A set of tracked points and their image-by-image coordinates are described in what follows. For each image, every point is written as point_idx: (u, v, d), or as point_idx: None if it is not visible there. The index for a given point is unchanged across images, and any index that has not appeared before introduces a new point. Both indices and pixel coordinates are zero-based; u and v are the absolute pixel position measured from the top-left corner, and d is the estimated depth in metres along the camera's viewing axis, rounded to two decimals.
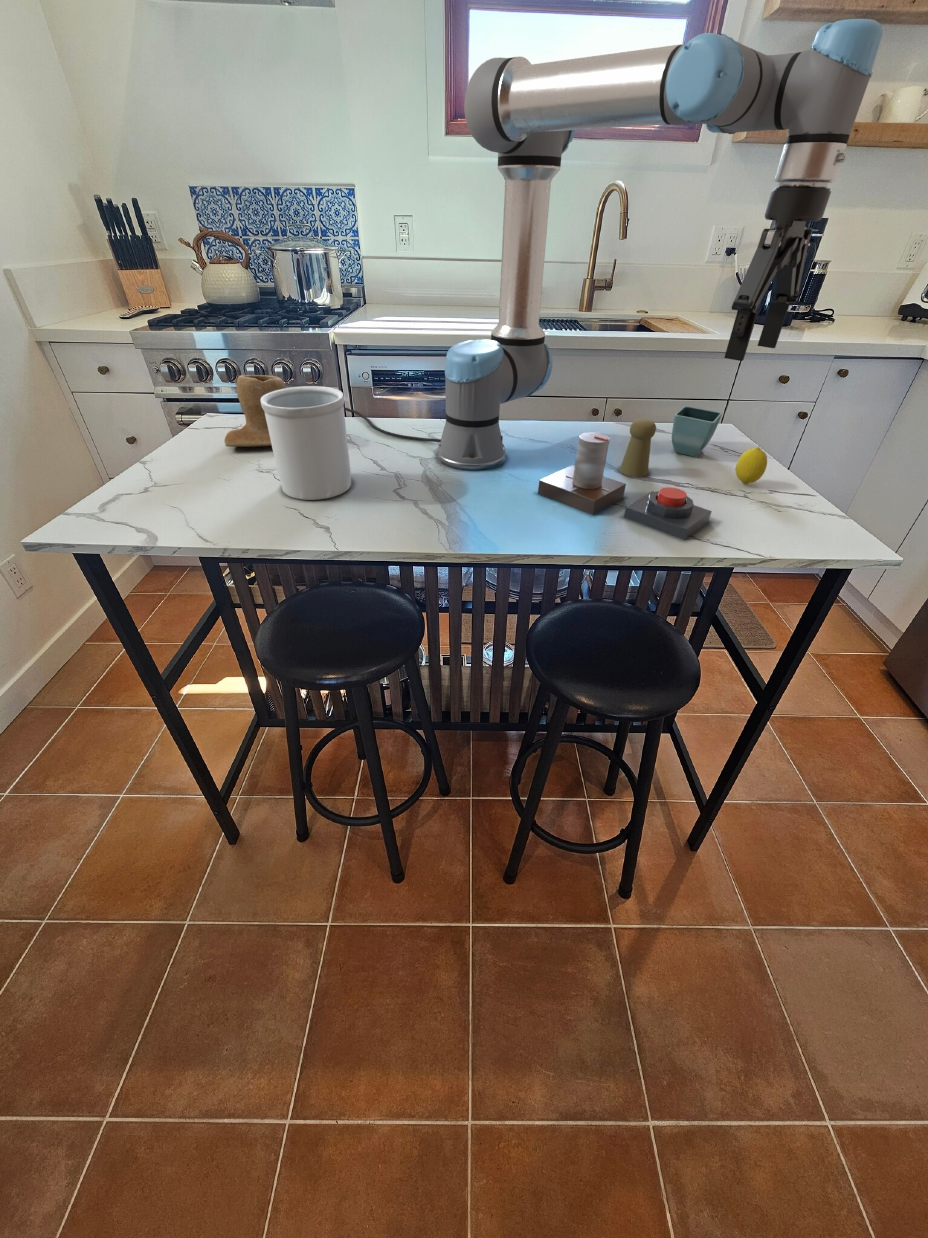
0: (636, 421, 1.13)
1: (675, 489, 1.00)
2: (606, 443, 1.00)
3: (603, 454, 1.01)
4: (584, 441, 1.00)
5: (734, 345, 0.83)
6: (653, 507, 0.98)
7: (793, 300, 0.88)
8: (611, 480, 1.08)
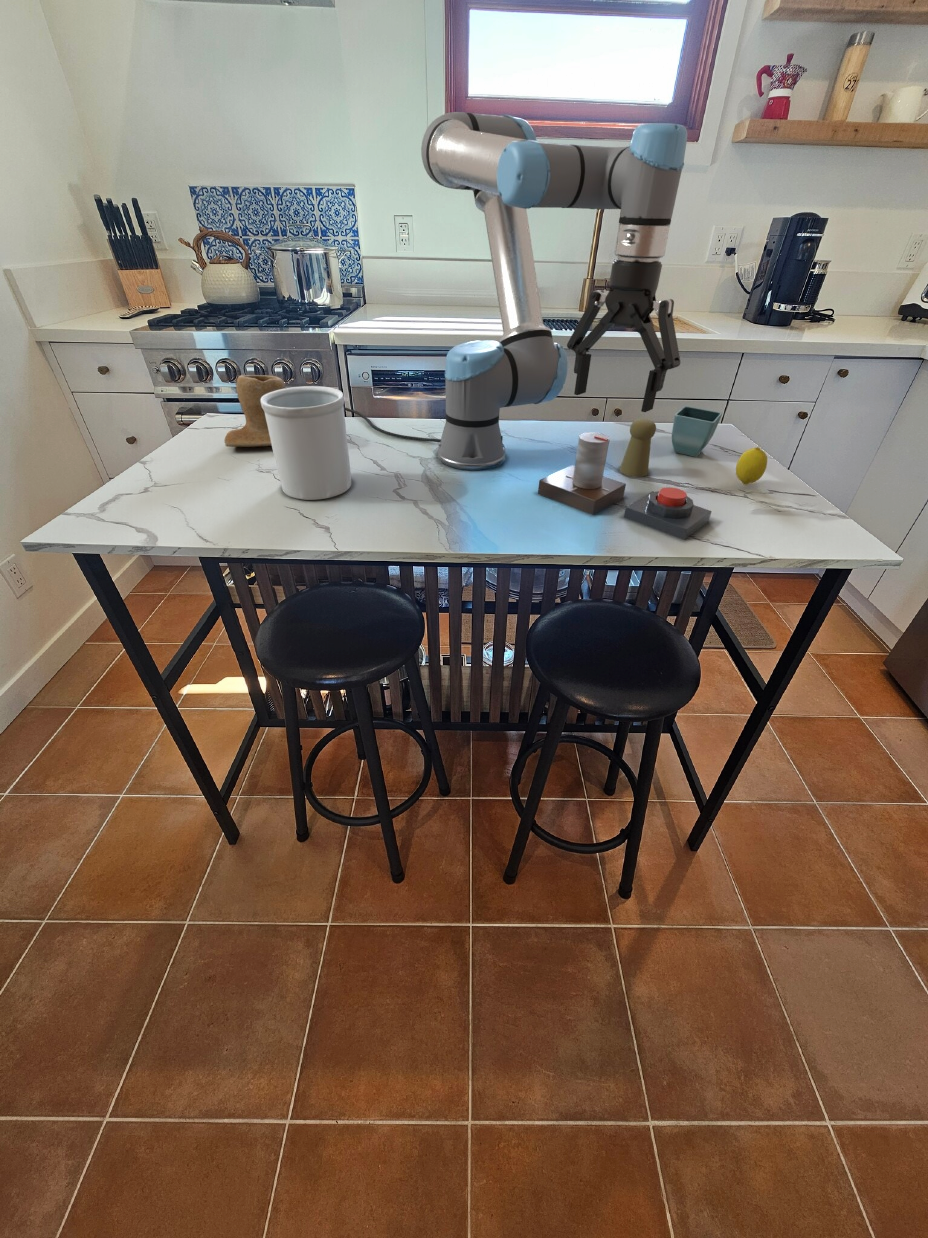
0: (636, 421, 1.13)
1: (675, 489, 1.00)
2: (606, 443, 1.00)
3: (603, 454, 1.01)
4: (584, 441, 1.00)
5: None
6: (653, 507, 0.98)
7: (655, 369, 0.88)
8: (611, 480, 1.08)
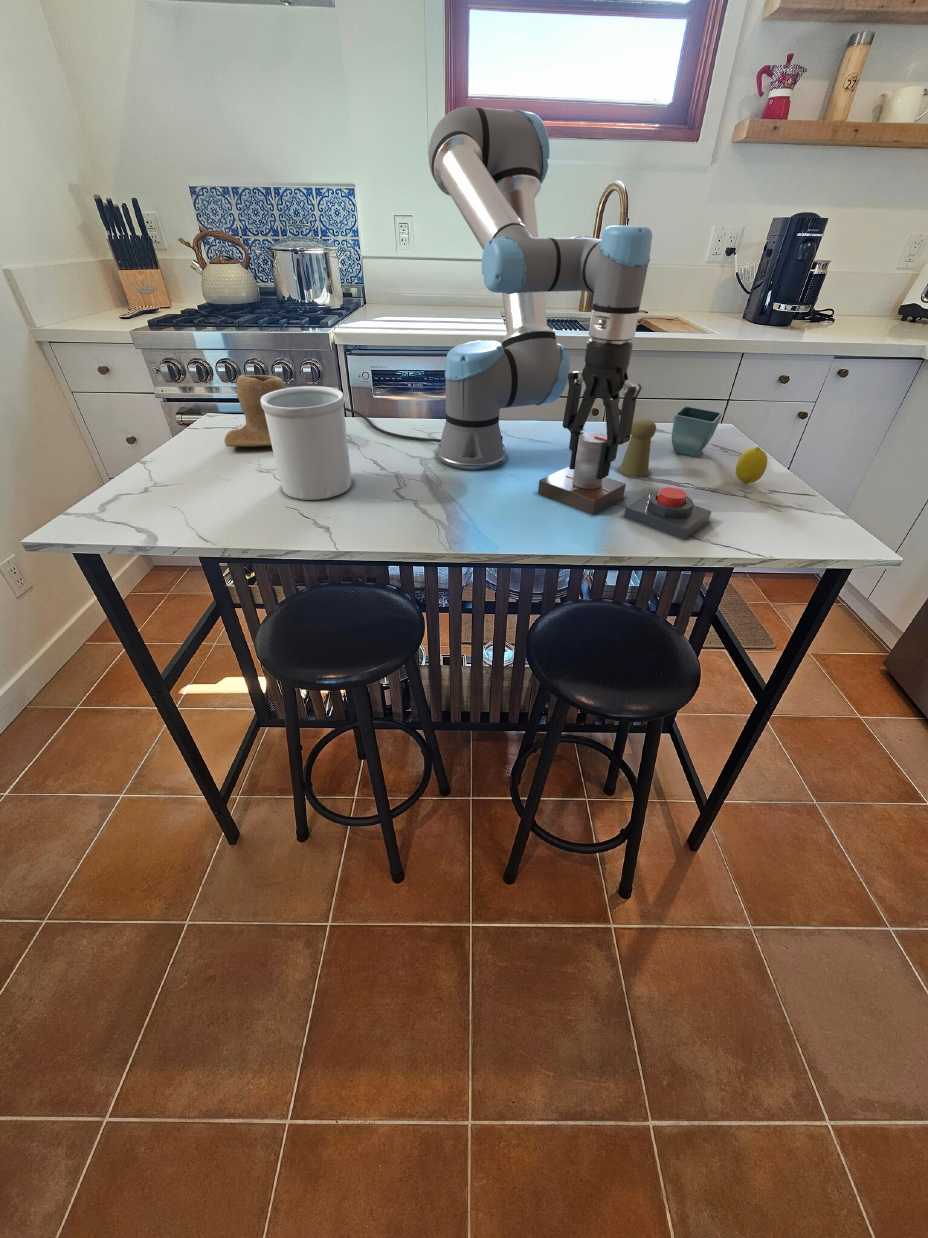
0: (636, 421, 1.13)
1: (675, 489, 1.00)
2: None
3: None
4: (584, 441, 1.00)
5: None
6: (653, 507, 0.98)
7: (607, 442, 0.98)
8: (611, 480, 1.08)
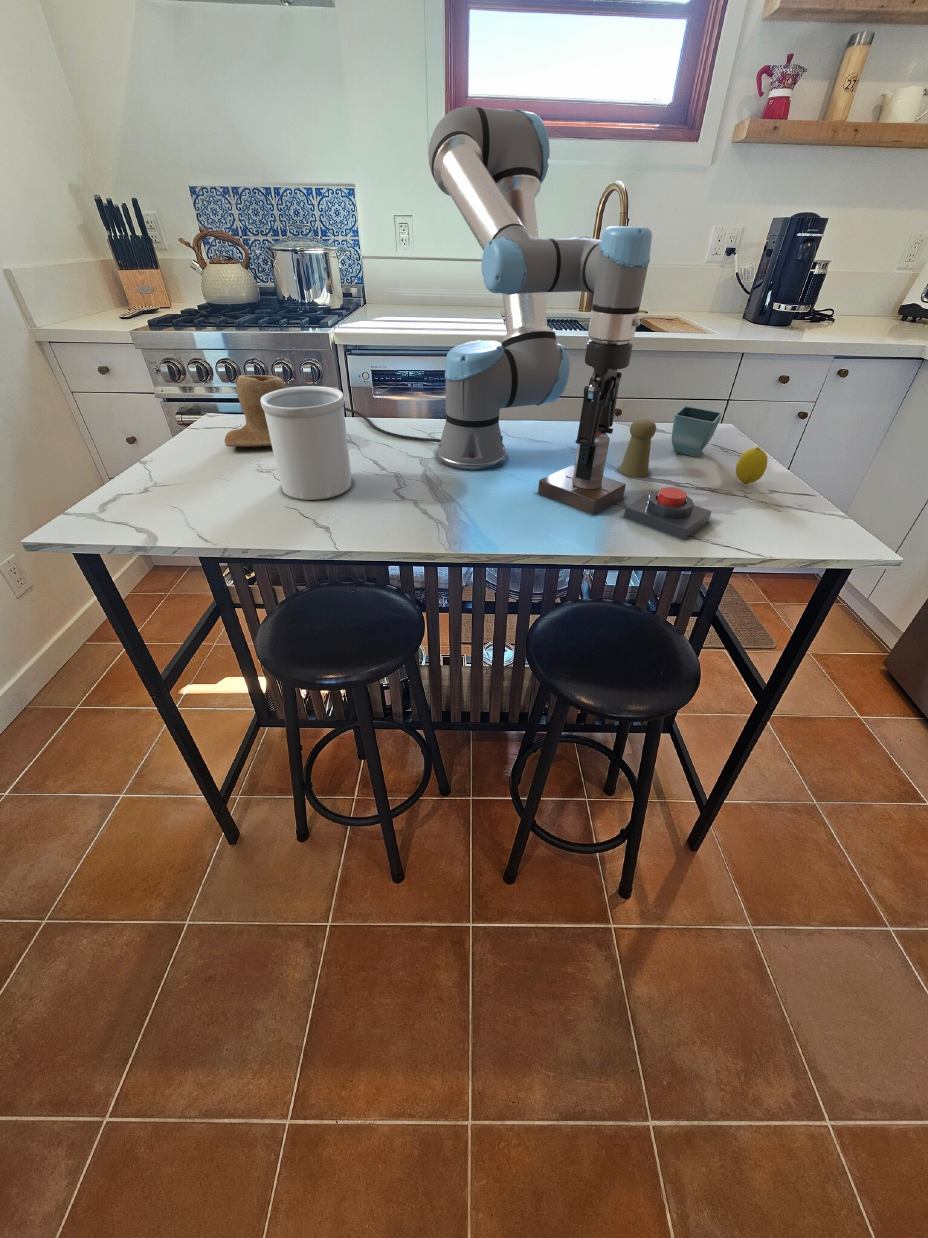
0: (636, 421, 1.13)
1: (675, 489, 1.00)
2: None
3: None
4: (608, 441, 1.00)
5: (581, 468, 1.02)
6: (653, 507, 0.98)
7: (609, 431, 1.03)
8: (611, 480, 1.08)
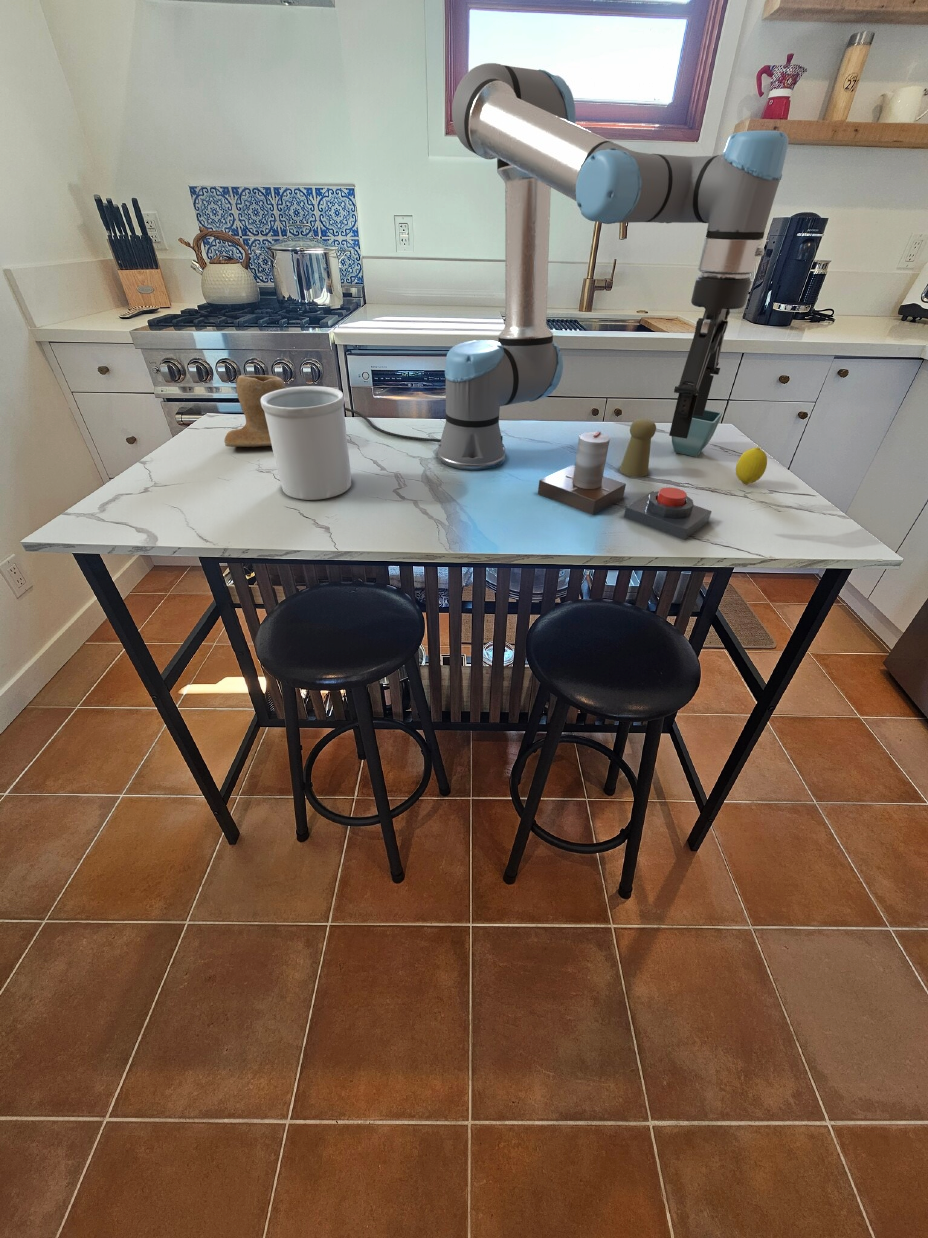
0: (636, 421, 1.13)
1: (675, 489, 1.00)
2: None
3: None
4: (608, 441, 1.00)
5: (678, 424, 0.85)
6: (653, 507, 0.98)
7: (716, 372, 0.92)
8: (611, 480, 1.08)
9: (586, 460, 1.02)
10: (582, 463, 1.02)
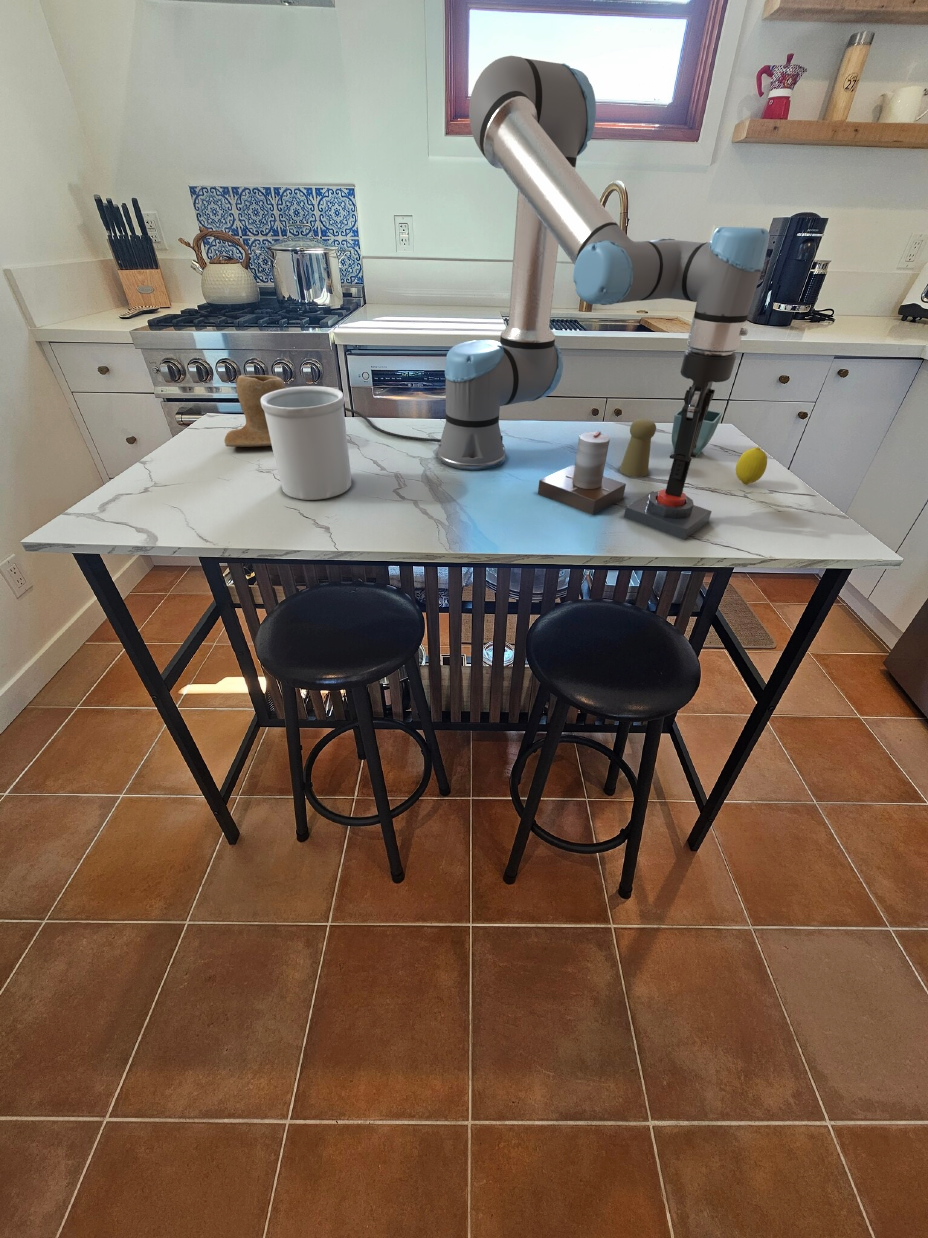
0: (636, 421, 1.13)
1: None
2: None
3: None
4: (608, 441, 1.00)
5: (673, 484, 0.97)
6: (653, 507, 0.98)
7: (694, 454, 0.94)
8: (611, 480, 1.08)
9: (586, 460, 1.02)
10: (582, 463, 1.02)
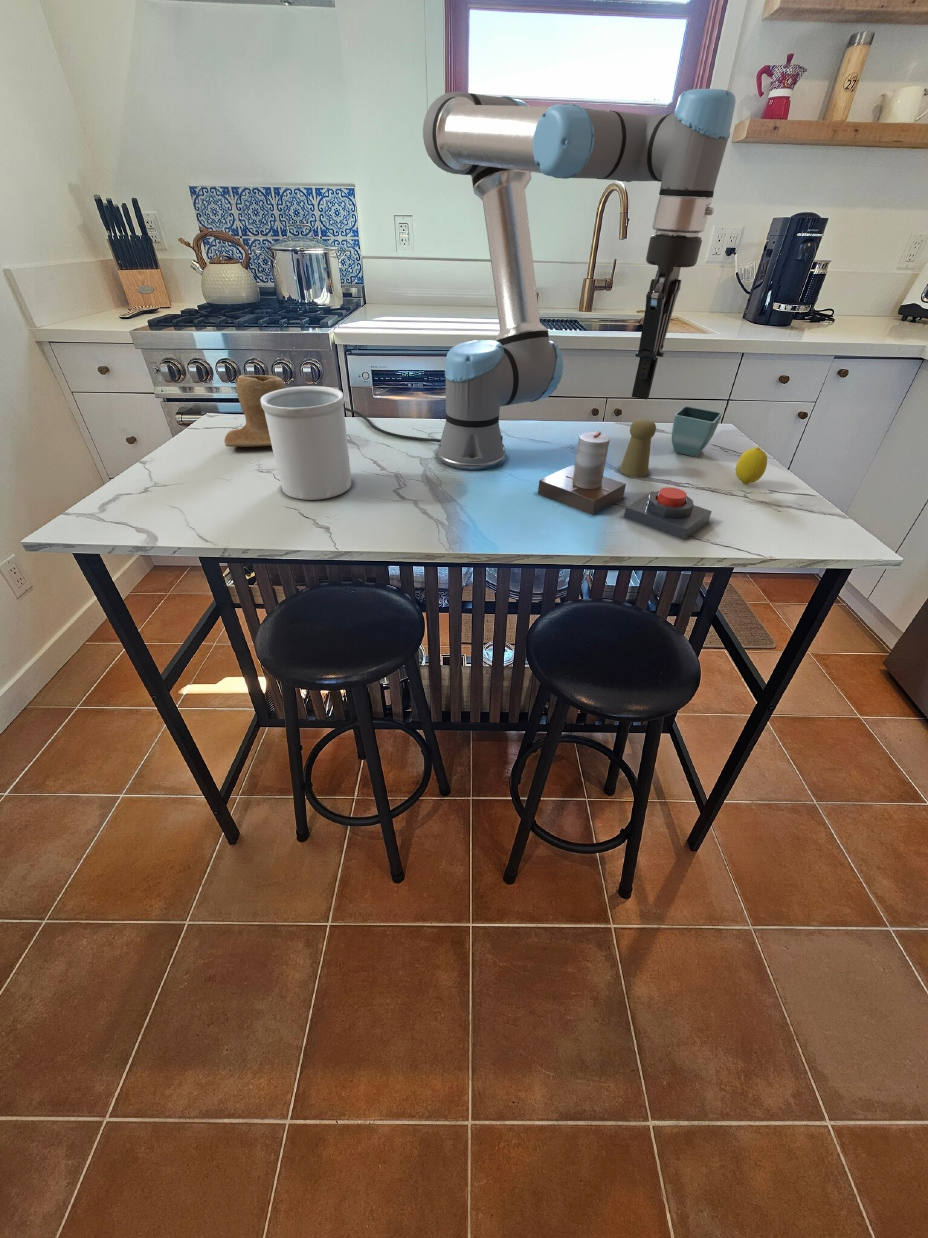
0: (636, 421, 1.13)
1: (675, 489, 1.00)
2: None
3: None
4: (608, 441, 1.00)
5: (639, 386, 0.95)
6: (653, 507, 0.98)
7: (661, 353, 0.92)
8: (611, 480, 1.08)
9: (586, 460, 1.02)
10: (582, 463, 1.02)
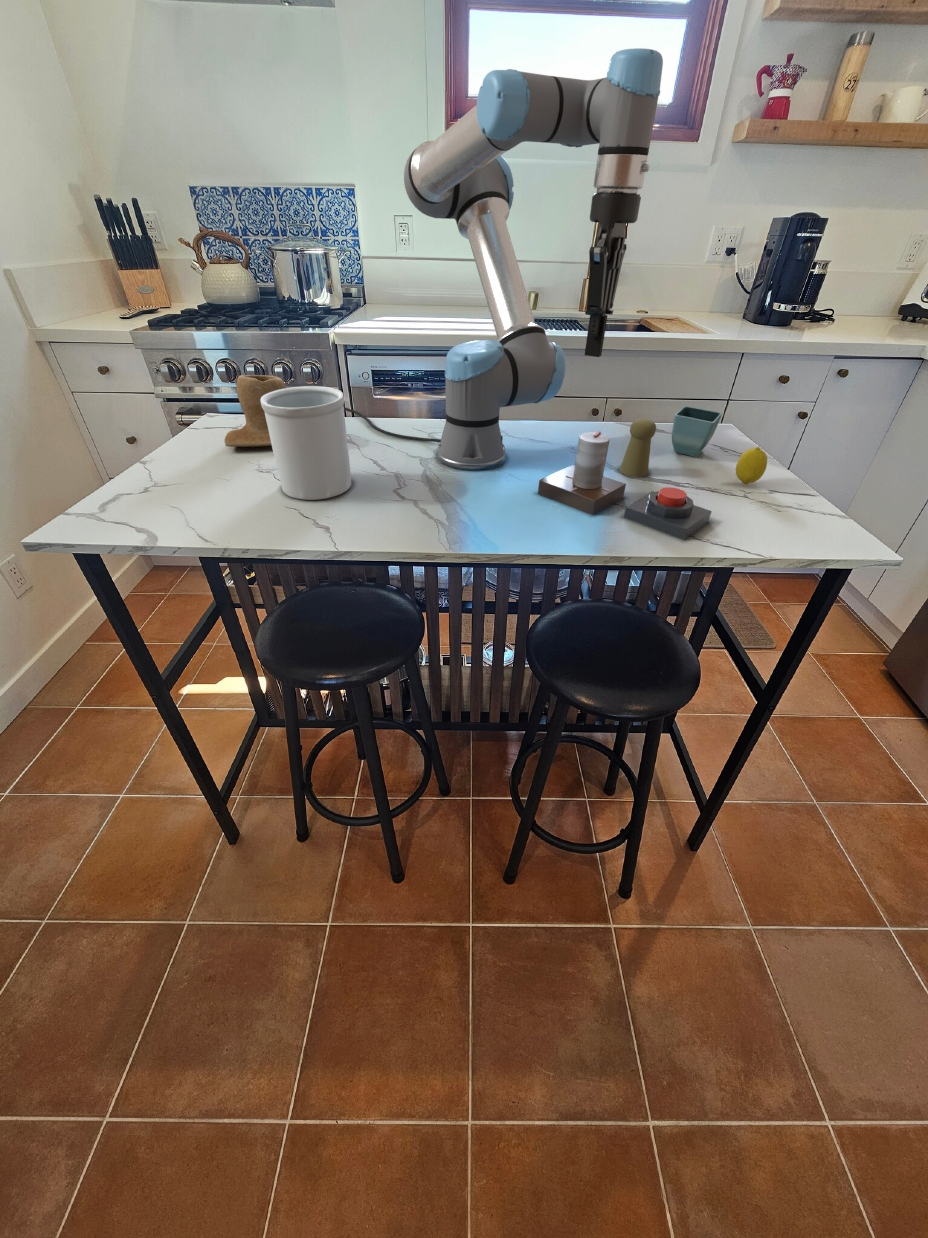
0: (636, 421, 1.13)
1: (675, 489, 1.00)
2: None
3: None
4: (608, 441, 1.00)
5: (591, 344, 0.98)
6: (653, 507, 0.98)
7: (610, 311, 0.96)
8: (611, 480, 1.08)
9: (586, 460, 1.02)
10: (582, 463, 1.02)
